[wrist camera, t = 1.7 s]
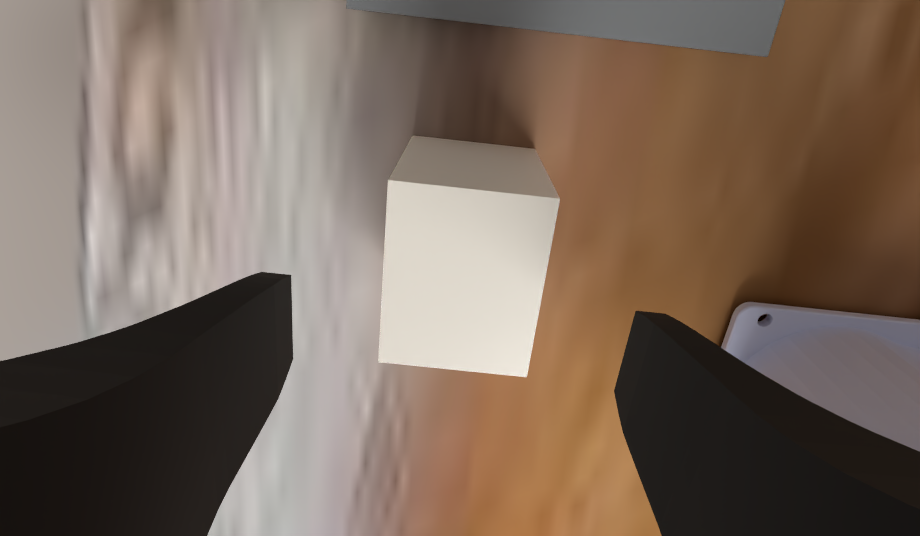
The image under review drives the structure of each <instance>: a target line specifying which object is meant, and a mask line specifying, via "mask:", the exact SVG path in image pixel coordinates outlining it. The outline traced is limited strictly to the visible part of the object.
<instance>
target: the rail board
mask: <svg viewBox="0 0 920 536" xmlns="http://www.w3.org/2000/svg"><path fill="white" fill-rule="evenodd" d="M784 3H785V0H347V5H346V8H348V9H356V10H364V11H373V12H382V13H390V14H399V15H408V16H416V17H425V18H433V19H442V20H451V21H459V22H468V23H477V24H485V25H494V26H503V27H511V28H520V29H529V30H537V31H546V32H555V33H563V34H572V35H581V36H589V37H598V38H607V39H615V40H624V41H632V42H641V43H650V44H658V45H667V46H676V47H684V48H693V49H702V50H710V51H719V52H728V53H736V54H745V55H754V56H763V57H768V54H769V51H770V48H771V44H772V41H773V38H774V35H775V32H776V28H777V25H778V22H779V19H780V16H781V12H782V9H783V6H784Z"/></svg>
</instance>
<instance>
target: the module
mask: <svg viewBox="0 0 920 536" xmlns="http://www.w3.org/2000/svg"><path fill="white" fill-rule="evenodd" d="M559 202H560V198H559V196H558V194H557V192H556V190H555V188H554V186H553V184H552V182H551V180H550V178H549V176H548V174H547V172H546V170H545V168H544V166H543V164H542V162H541V160H540V158H539V156H538V154H537V152H536V150H535V149H532V148H523V147H514V146H505V145H496V144H487V143H477V142H468V141H459V140H450V139H441V138H432V137H423V136H414V135H413V136H412V137H411V139H410V141H409V143H408V145H407V147H406V148H405V150H404V152H403V154H402V156H401V157H400V159H399V161H398V163H397V165H396V166H395V168H394V170H393V172H392V174H391V175H390V177H389V179H388V189H387V208H386V227H385V246H384V265H383V284H382V303H381V322H380V341H379V360H378V362H382V363H392V364H402V365H412V366H422V367H432V368H442V369H452V370H461V371H471V372H481V373H491V374H501V375H511V376H521V377H527V373H528V368H529V362H530V357H531V352H532V346H533V341H534V336H535V330H536V325H537V320H538V314H539V309H540V304H541V298H542V293H543V287H544V282H545V277H546V271H547V266H548V261H549V255H550V250H551V245H552V239H553V234H554V229H555V223H556V218H557V213H558V207H559Z"/></svg>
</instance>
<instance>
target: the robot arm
mask: <svg viewBox="0 0 920 536" xmlns="http://www.w3.org/2000/svg"><path fill="white" fill-rule="evenodd" d="M763 314H767V316H766V318H765V319H764V320H762V321H758V318H759V317H760V316H761V315H763ZM292 360H293V339H292V296H291V275H285V274H275V273H265V272H260V273H257V274H253V275H251V276H248V277H246V278H243V279H241V280H238V281H236V282H234V283H232V284H229V285H227V286H225V287H223V288H220V289H218V290H216V291H214V292H211V293H209V294H207V295H205V296H202V297H200V298H198V299H196V300H193V301H191V302H189V303H187V304H184V305H182V306H179V307H177V308H174V309H172V310H169V311H167V312H164V313H162V314H159V315H157V316H154V317H152V318H149V319H147V320H144V321H142V322H139V323H137V324H134V325H131V326H128V327H125V328H122V329H119V330H116V331H114V332H111V333H107V334H104V335H101V336H97V337H94V338H91V339H88V340H84V341H81V342H78V343H74V344H70V345H67V346H63V347H58V348H55V349H50V350H46V351H42V352H38V353H34V354H30V355H25V356H21V357H17V358H13V359H9V360H4V361H0V536H207V535H208V532H209V530H210V528H211V525H212V523H213V520H214V518H215V516H216V513H217V511H218V509H219V507H220V505H221V503H222V501H223V499H224V497H225V495H226V493H227V491H228V489H229V487H230V485H231V483H232V481H233V480H234V478H235V476H236V474H237V472H238V471H239V469H240V467H241V465H242V463H243V462H244V460H245V458H246V456H247V454H248V453H249V451H250V449H251V447H252V446H253V444H254V442H255V440H256V438H257V437H258V435H259V433H260V431H261V429H262V428H263V426H264V424H265V422H266V420H267V418H268V417H269V415H270V413H271V411H272V409H273V407H274V405H275V404H276V402H277V400H278V398H279V395H280V393H281V390H282V388H283V385H284V382H285V380H286V377H287V374H288V371H289V369H290V366H291V363H292ZM614 393H615V398H616V403H617V408H618V413H619V417H620V421H621V426H622V430H623V433H624V436H625V439H626V442H627V445H628V447H629V450H630V453H631V455H632V458H633V461H634V463H635V466H636V469H637V471H638V474H639V477H640V479H641V482H642V484H643V487H644V490H645V492H646V495H647V497H648V500H649V503H650V505H651V508H652V510H653V513H654V516H655V518H656V521H657V523H658V526H659V529H660V532H661V535H662V536H920V320H918V319H909V318H899V317H890V316H880V315H871V314H861V313H852V312H842V311H833V310H823V309H814V308H804V307H795V306H785V305H776V304H766V303H757V302H745V303H743V304H740V305H739V306H738V307H737V308H736V309H735V311H734V312H733V315H732V318H731V320H730V323H729V326H728V329H727V332H726V335H725V337H724V340H723V343H722V346H721V347H719V346H718V345H716V344H715V343H713V342H711V341H710V340H708V339H707V338H705V337H704V336H702V335H701V334H699V333H698V332H696V331H695V330H693V329H691V328H690V327H688V326H687V325H685V324H683V323H682V322H680V321H678V320H676V319H675V318H673V317H671V316H669V315H666V314H662V313H653V312H643V311H636V312H635V316H634V319H633V323H632V327H631V330H630V334H629V338H628V342H627V345H626V349H625V353H624V356H623V360H622V364H621V368H620V371H619V375H618V379H617V382H616V386H615V390H614Z"/></svg>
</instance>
